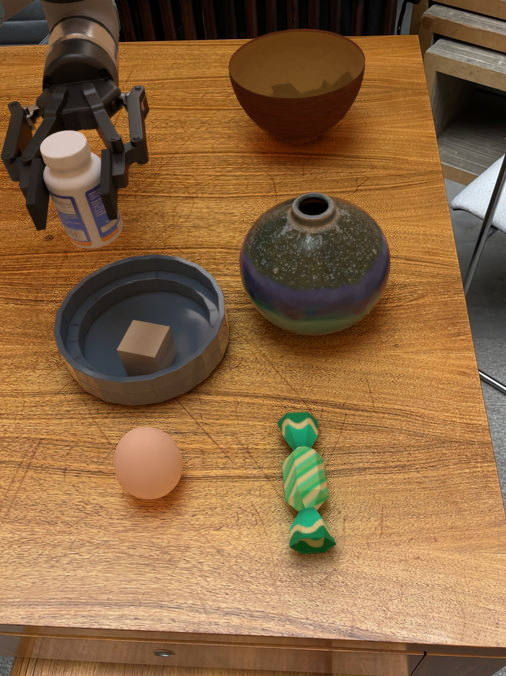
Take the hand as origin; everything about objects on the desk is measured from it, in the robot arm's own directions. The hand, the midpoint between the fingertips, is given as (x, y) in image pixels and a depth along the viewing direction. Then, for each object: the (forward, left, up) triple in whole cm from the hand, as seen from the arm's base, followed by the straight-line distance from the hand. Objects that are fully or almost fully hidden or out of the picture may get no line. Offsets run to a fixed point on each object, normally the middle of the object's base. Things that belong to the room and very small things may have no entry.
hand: (72, 212), depth 53 cm
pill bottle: (-3, +4, -7) cm, 8 cm away
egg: (+13, -11, -18) cm, 25 cm away
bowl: (-3, +43, -18) cm, 46 cm away
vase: (+15, +15, -18) cm, 28 cm away
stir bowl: (+2, +2, -18) cm, 18 cm away
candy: (+25, -5, -18) cm, 31 cm away
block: (+4, -1, -17) cm, 18 cm away
